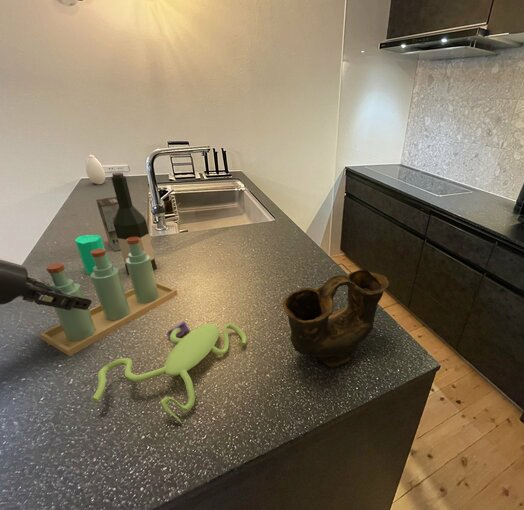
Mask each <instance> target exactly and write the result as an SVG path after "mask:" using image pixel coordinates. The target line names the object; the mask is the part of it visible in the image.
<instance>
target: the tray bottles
mask: <svg viewBox="0 0 524 510" xmlns="http://www.w3.org/2000/svg"><path fill="white" fill-rule="evenodd" d="M139 242H140V240H139V237H130V238H127V243H128V244H129V247H130V251H131V253H129V254H128V257H129V258H127V259H126V264H127V268H128V271H129V275H128V276H129V279H130V283H131V285H132V289H134V293H135V297H136V300H137V302H138V303H142V304H145V303H150V302H153V301H155V300H156V299H158V297H159V294H158V290H157V285H156V282H157V281H156V277H155V273H154V271H153V268H152V264H151V260H150V256H148V255H146V254H145V252H144V251H141V248H140V244H139ZM90 253H91V256H92V257H93V258H94V261H95V264H96V266H95V267H94V268H93V271H94V272H92V273H91V274H90V278H91V281H92V284H93V287H94V291H95V293H96V296H97V299H98V302H99V305H101V308H102V311H103V313H104V316H105V319H107V320H109V321H115V320H119V319H122V318H124V317H126V316H127V315H128V314H129V313H130V308H129V305H128V302H127V298H126V295H125V292H126V291H125V288H124V285H123V281H122V278H121V275H120V272H119V269H118V268H117V267H114V266H113V264H112V263H110V262H109V263H108V262H107V259H106V255H107V252H106V249H102V248H100V249H94V250H92V251H91V252H90ZM105 254H106V255H105Z"/></svg>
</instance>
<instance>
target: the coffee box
mask: <svg viewBox="0 0 524 510" xmlns="http://www.w3.org/2000/svg"><path fill="white" fill-rule="evenodd" d="M96 205H97V208H98V211H99V214H100V218H101V221H102V225H103V227H104V231H105V234H106V238H107V242H108V244H109V246H110V247H111V249H112V251H113V252H117V251H121V249H120V245H119V242H118V238H117V235H116V231H115V228H114V224H113V219H114V217H115V215H116V212H117V210H118V208H119V205H118V201H117V197H116V196H114V197H106V198H98V199H96Z"/></svg>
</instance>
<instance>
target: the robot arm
mask: <svg viewBox="0 0 524 510" xmlns="http://www.w3.org/2000/svg"><path fill="white" fill-rule="evenodd" d="M51 284H52V283H49V282H48V281H45V280H43V279H40V278H36V277H33V276H31V275H29V273H28V270H27V268H26V267H25V266H23V265H22V264H18V263H15V262H11V261H8V260H4V259H0V305H6V304H8V303H11V302H12V301H14V300H15V299H17V298H21V300H22V301H25V302H30V303H33V302H34V304H36V305H38V306H41V305H42V306H45V307H51V308H53V307H56V308H61V309H65V310H71V309H72V308H77V309H82V310H87V309H89V308H90V306H91V305H92V302H93V300H91V299H89V298H86V297H84V298H81V297H77V296H74V295H72V294H71V295H70V294H67V293H63V292H62V289H59V288H56V287H53V286H50V285H51ZM52 290H54V291H55V292H52ZM63 299H65V301H64V302H63V303H61V302H62V301H63Z"/></svg>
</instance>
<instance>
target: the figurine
mask: <svg viewBox="0 0 524 510" xmlns="http://www.w3.org/2000/svg"><path fill="white" fill-rule="evenodd" d="M227 329H230V330H232V331H234V332H235V333H237V334H238V336H239V337H240V339H241V341H240V342H238V344H237V345H238V346H239V347H244V346H245V345H246V344H247V341H248V340H247V339H248V338H247V336H246V333H245V332H244V331H243V330H242V329H241V328H240V327H239V326H238V325H236V324H233V323H226V324H225V325H224V326H223V327H222V336H223V348H222V349H219V347H216V346H215V345H216V343H217V341H218V339H219V335H220V329H219V326H218V325H217V324H215V323H206V324H202V325H200V326H197V327H195V328H194V329H193V330H191V331H190V328H189V327H188V324H187V322H186V321H185V320H183V321H182V322H180V323H178V324H177V325H176V326H174V327H173V328H171V329H170V330H168V331H167V332H166V333H165V334H166V336H168V339H169V340H170V341H171V342H172V343H174V344H175V345H174V347H173V348H172V350H171V351H170V352H169V354H168V355H167V356H166V360H165V362H164V365H163V366H162V367H160V368H157V369H154V370H151V371H148V372H144V373H142V374H141V373H140V374H135V373H133V372H132V369H133V359H131V358H129V357H124V358H123V357H122V358H118V359H115V360H113V361H111V362H109V363H107V364H106V365H104V366H103V367H102V368H101V369H100V370H99V371H98V373H97V381H98V385H97V389H96V391H95V393H94V394H93V396H92V397H91V399H92V401H93V402H94V403H96V404H97V403H99V401H100V400H101V398H102V396H103V394H104V393H105V391H106V386H107V373H108V372H109V371H110V370H112V369H114V368H116V367H118V366H121V365H125V367H124V373H123V374H124V377H125V379H127V380H129V381H130V382H135V383H139V382H144V381H147V380H150V379H154V378H156V377H159V376H161V375H164V374H167V375H168V376H173V377H175V376H179V375H180V377H181V378H182V380H183V381H184V383H185V384H184V385H185V387H186V391H187V397H188V399H187V400H188V401H187V403H186V404H185V405H184V404H181V403H180V402H178V401H177V400H176V399H175V398H174V397H171V396H168V395H167V396H164V397H163V399H161V400H160V401H159V402H160V405H161V407H162V408H163V409H164V410H165V411H166V412H167V413H168V414H169V415H170V416H172V417H174V418H175V419H177V421H179V423H182V421H181V419H180V418H179V417H178V416H177V415H176V414H175V413H174V412H173V411H172V409H171V408H170V407H169V405H168V403H170V402H171V401H172V402H173V403H174V404H176V406H177V407H178V408H179V409H180V410H181V411H183V412H190V411H191V410H192V408H193V407H195V402H196V394H195V393H196V392H195V388H194V384H193V380H192V378H191V376H190V375H189V373H188V372H189V370H191V369H193V368H194V367H196V366H197V365H198V364H199V363H201V361H202V360H203V359H205V357H207V355H208V354H209V353H210V352H211V353H213V354H214V355H217V356H224V355H226V353H227V352H228V349H229V346H230V338H229V334H228V331H227ZM183 335H184V336H183ZM181 336H183V338H180V337H181Z"/></svg>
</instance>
